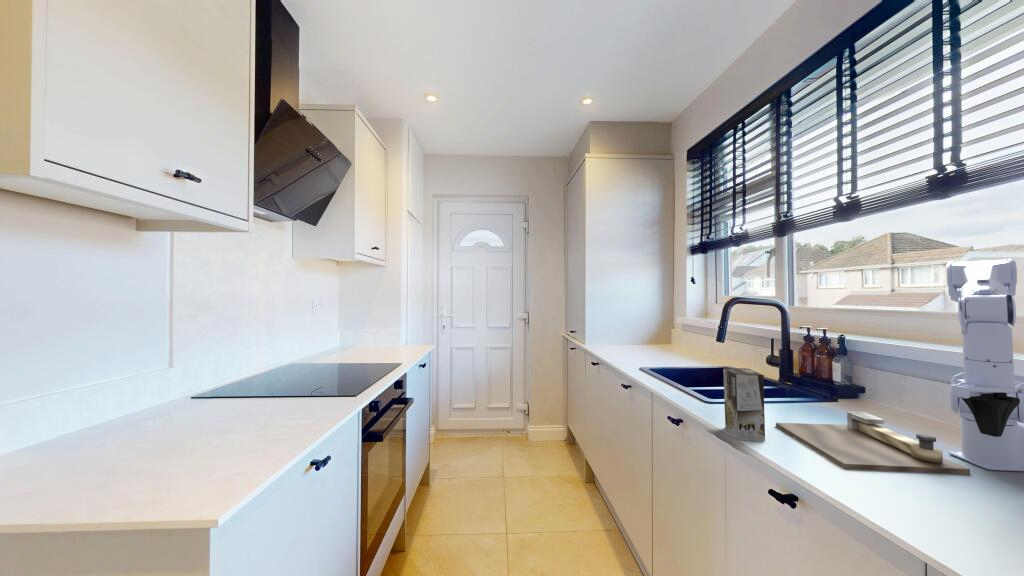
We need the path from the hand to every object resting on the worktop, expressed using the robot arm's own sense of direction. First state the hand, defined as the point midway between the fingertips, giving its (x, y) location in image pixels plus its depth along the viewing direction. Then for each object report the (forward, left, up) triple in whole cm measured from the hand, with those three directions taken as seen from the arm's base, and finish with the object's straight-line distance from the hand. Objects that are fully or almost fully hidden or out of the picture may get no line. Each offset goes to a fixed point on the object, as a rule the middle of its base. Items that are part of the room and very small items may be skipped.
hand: (990, 434), depth 69 cm
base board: (+10, -18, -9) cm, 22 cm away
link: (+3, -16, -8) cm, 18 cm away
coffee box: (+32, -23, -10) cm, 41 cm away
